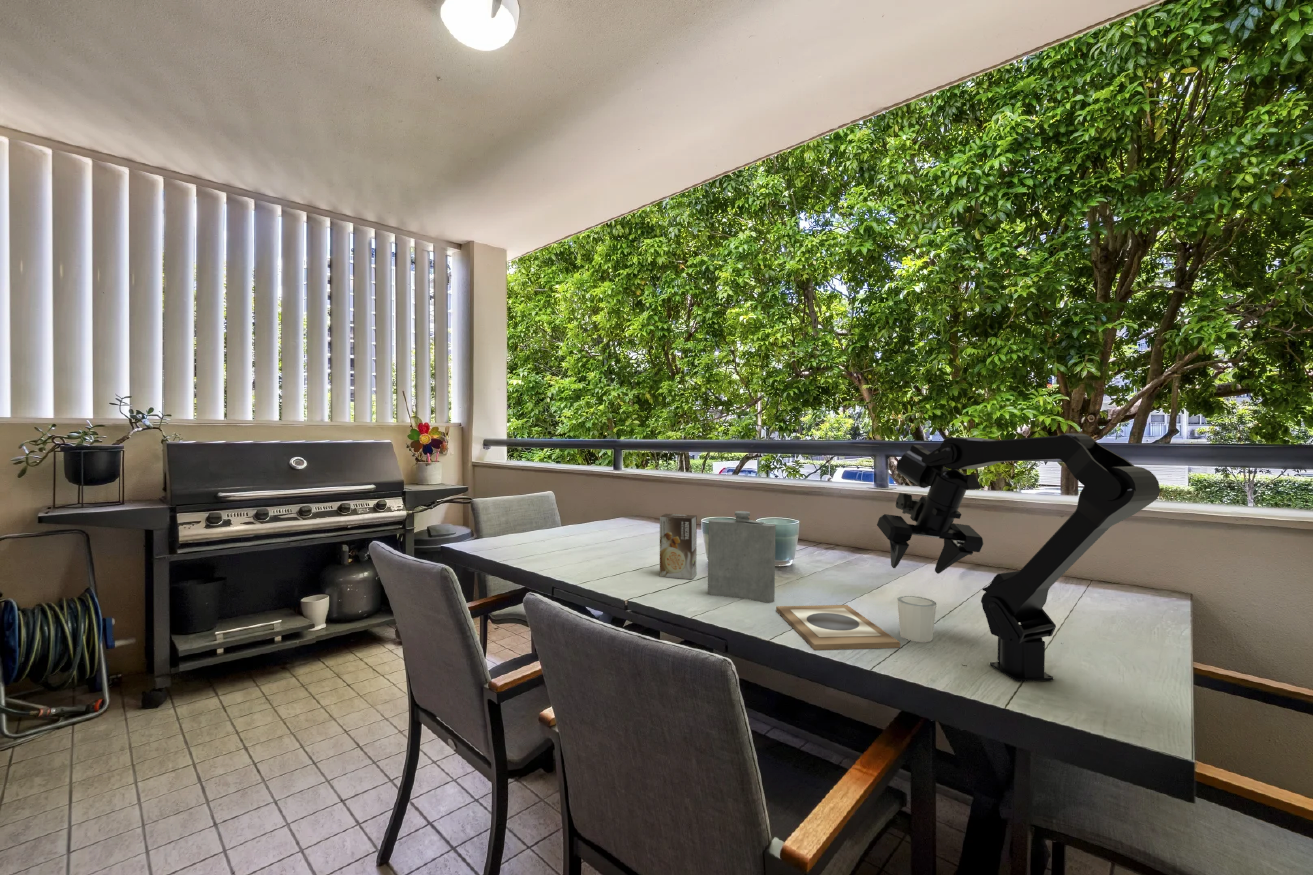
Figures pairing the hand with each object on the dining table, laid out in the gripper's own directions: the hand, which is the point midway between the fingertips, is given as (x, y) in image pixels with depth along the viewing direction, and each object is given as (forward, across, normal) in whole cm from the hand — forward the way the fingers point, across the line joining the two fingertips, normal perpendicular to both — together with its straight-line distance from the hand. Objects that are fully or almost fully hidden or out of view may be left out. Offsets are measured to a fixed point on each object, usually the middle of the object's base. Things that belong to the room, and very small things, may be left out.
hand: (914, 569), depth 112 cm
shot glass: (+10, 0, +7) cm, 13 cm away
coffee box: (+33, +38, -36) cm, 62 cm away
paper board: (+14, +14, +2) cm, 20 cm away
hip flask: (+24, +26, -18) cm, 40 cm away
